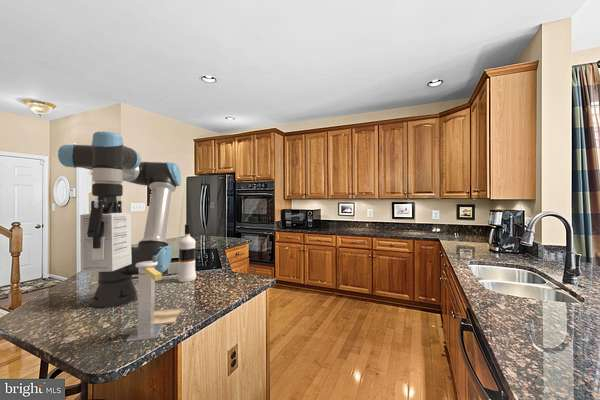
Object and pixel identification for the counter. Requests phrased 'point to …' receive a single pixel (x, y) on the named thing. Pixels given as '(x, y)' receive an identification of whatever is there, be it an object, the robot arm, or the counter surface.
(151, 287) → the post
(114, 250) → the supplement box
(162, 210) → the robot arm
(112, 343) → the counter surface
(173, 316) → the trivet
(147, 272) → the handwheel arm
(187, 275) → the vodka
